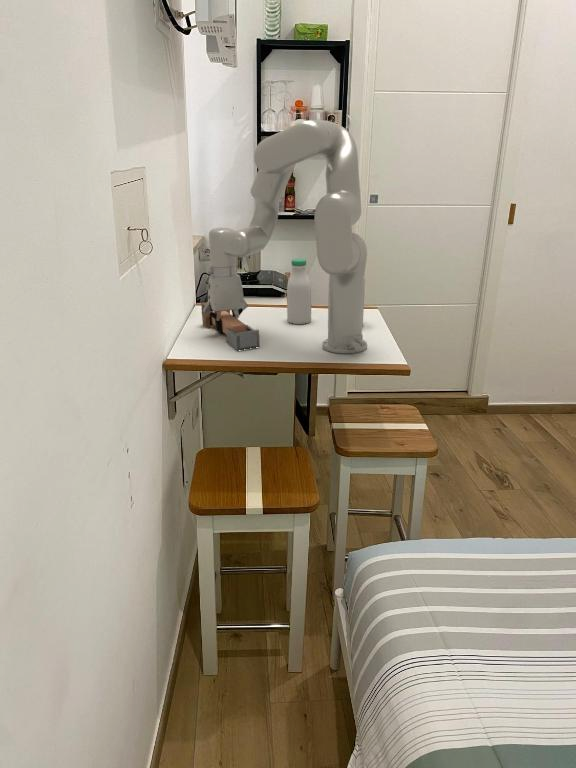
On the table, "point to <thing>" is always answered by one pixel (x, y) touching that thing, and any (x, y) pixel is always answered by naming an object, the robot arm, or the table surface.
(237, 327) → the bar
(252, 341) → the channel
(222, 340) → the table surface
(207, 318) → the socket
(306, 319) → the milk bottle
